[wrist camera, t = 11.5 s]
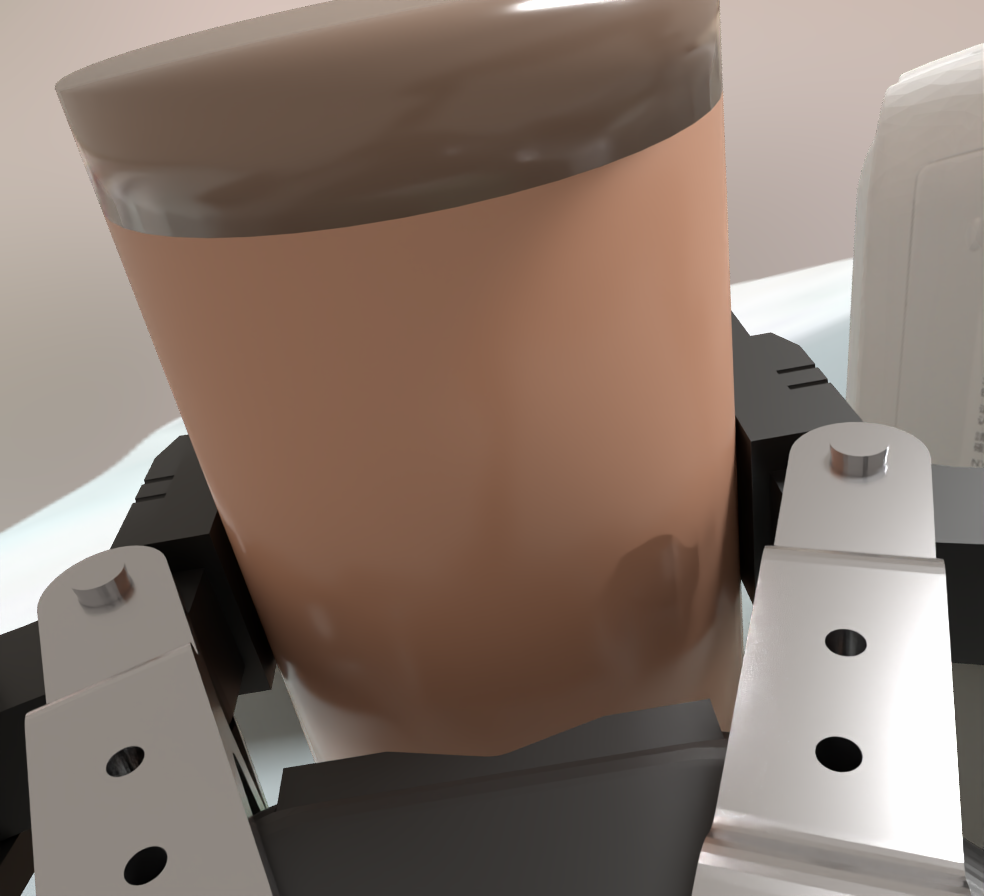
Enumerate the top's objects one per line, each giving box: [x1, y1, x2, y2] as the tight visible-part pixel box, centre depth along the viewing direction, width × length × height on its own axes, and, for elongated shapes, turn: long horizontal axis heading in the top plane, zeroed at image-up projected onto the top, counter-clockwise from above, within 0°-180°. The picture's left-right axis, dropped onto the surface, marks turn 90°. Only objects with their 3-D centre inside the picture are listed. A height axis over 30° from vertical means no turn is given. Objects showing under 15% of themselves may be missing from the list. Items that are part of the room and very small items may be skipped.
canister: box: [55, 0, 744, 763], centre depth 11 cm, size 6×6×12 cm
